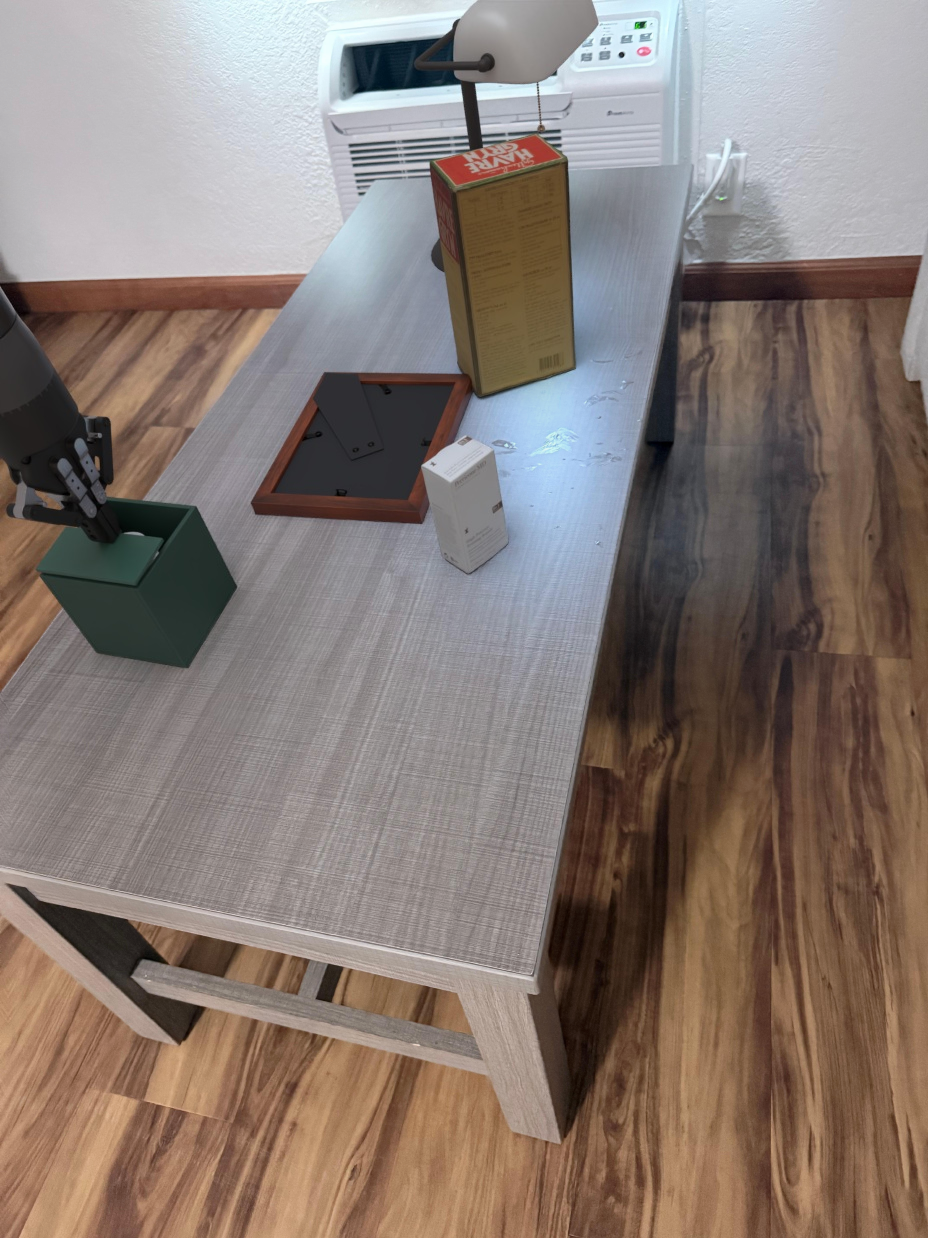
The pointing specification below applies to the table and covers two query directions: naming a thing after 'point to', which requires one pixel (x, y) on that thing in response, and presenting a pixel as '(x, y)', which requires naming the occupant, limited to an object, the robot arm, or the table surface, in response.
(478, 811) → the table surface
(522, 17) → the lamp
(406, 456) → the picture frame
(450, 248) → the food packaging
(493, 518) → the cosmetic box
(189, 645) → the green open box
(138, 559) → the flap
